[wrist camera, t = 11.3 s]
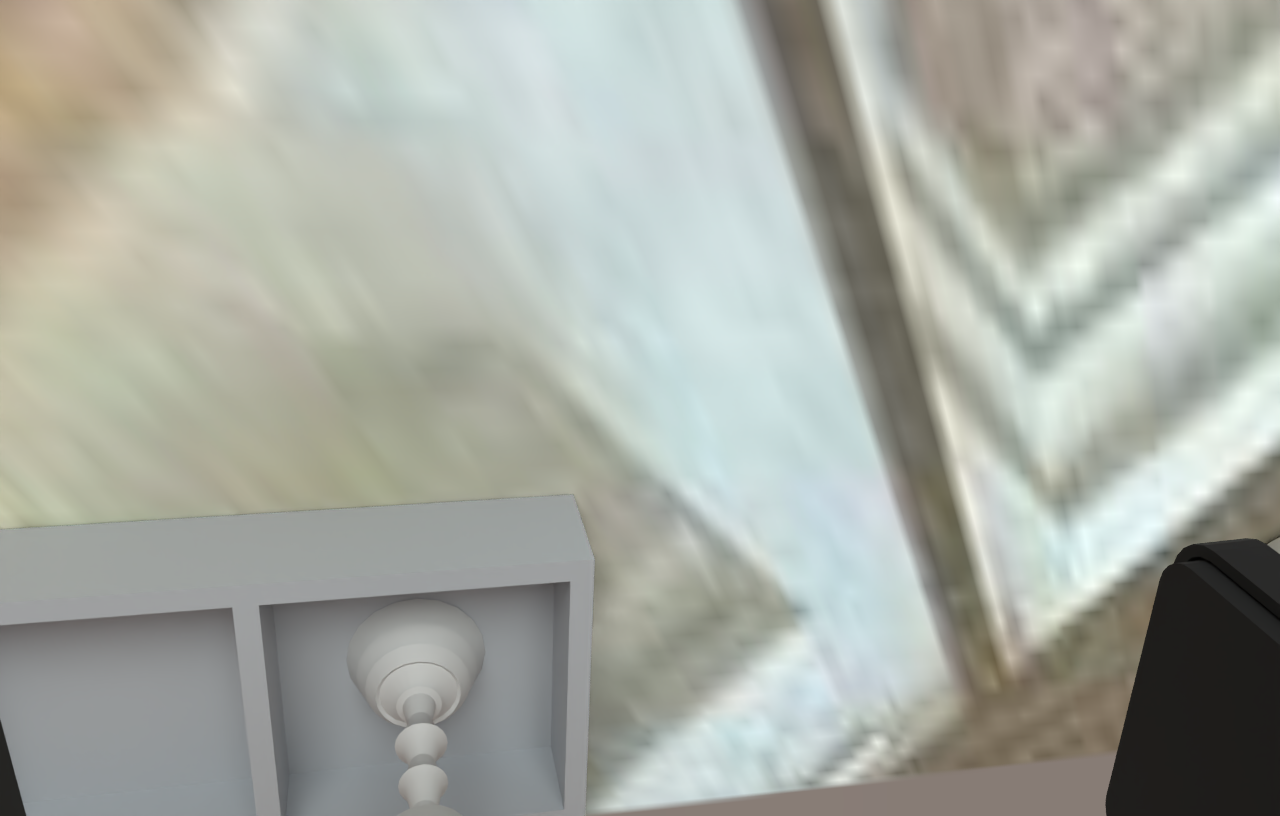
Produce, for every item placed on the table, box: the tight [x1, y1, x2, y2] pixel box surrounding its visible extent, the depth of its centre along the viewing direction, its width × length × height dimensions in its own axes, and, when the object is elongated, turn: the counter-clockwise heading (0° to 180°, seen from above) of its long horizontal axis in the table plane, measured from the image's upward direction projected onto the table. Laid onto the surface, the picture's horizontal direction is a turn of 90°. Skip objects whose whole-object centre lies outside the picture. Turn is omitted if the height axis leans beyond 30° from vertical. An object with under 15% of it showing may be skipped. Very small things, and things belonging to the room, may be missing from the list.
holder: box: [0, 495, 595, 816], centre depth 41 cm, size 22×12×4 cm, turn 87°
